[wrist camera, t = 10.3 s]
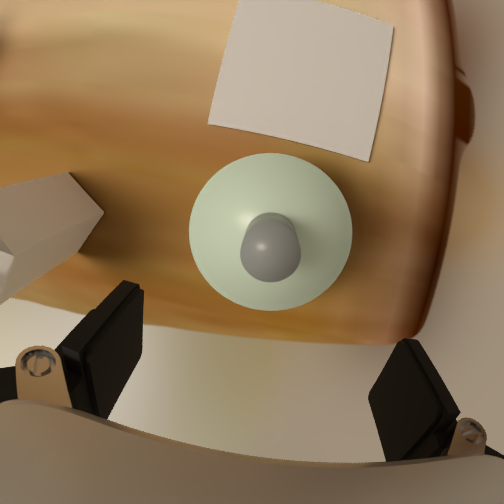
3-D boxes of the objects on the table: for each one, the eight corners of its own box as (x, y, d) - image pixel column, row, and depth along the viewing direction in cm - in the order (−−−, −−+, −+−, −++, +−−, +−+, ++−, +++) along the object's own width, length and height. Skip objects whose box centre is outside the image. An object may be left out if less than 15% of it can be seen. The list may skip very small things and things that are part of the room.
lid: (206, 138, 23) (190, 136, 18) (367, 176, 23) (389, 183, 18) (183, 287, 27) (166, 315, 22) (323, 317, 27) (332, 349, 22)
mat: (243, -11, 23) (243, -13, 22) (391, 27, 23) (393, 25, 22) (208, 124, 28) (207, 123, 27) (366, 161, 28) (368, 162, 27)
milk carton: (44, 214, 32) (-71, 267, 14) (68, 171, 30) (-63, 206, 12) (77, 252, 33) (-31, 330, 15) (105, 211, 31) (-21, 277, 13)
